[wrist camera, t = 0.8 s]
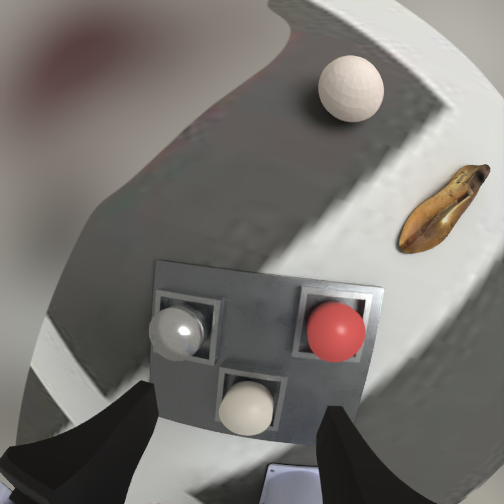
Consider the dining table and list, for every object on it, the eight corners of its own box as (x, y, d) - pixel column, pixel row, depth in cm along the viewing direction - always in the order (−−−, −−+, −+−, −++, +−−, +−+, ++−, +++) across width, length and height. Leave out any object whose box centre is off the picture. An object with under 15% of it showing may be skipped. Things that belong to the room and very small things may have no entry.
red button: (353, 353, 22) (359, 364, 20) (302, 349, 23) (303, 359, 20) (362, 303, 22) (370, 308, 20) (310, 297, 23) (312, 303, 20)
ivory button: (270, 424, 23) (267, 439, 20) (223, 416, 24) (217, 430, 21) (277, 384, 23) (275, 397, 20) (227, 377, 24) (220, 388, 21)
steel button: (205, 356, 24) (196, 366, 21) (160, 346, 24) (148, 354, 22) (210, 308, 24) (201, 314, 21) (162, 300, 24) (150, 304, 22)
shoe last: (386, 231, 25) (404, 227, 21) (466, 162, 24) (489, 149, 19) (409, 267, 25) (430, 270, 20) (486, 194, 23) (510, 186, 19)
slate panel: (343, 438, 25) (347, 454, 22) (156, 408, 28) (144, 420, 25) (379, 286, 25) (389, 290, 22) (162, 259, 28) (148, 260, 25)
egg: (366, 142, 25) (389, 106, 18) (308, 121, 26) (313, 79, 18) (377, 96, 25) (397, 55, 17) (323, 77, 26) (330, 32, 18)
